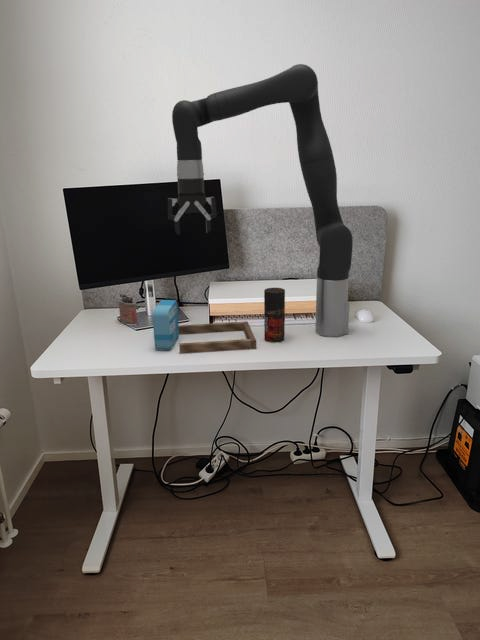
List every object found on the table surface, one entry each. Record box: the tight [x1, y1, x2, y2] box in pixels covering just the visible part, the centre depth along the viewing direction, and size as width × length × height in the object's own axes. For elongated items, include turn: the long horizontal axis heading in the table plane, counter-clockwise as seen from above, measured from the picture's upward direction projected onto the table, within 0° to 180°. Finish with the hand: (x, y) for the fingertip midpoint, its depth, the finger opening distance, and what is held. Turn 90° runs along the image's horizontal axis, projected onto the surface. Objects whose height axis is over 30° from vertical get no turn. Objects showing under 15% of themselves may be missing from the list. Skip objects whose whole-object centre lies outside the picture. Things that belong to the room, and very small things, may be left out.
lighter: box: [117, 292, 139, 326], centre depth 167 cm, size 8×3×10 cm, turn 47°
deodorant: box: [263, 287, 286, 344], centre depth 150 cm, size 6×6×15 cm
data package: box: [152, 299, 180, 351], centre depth 148 cm, size 12×4×12 cm, turn 175°
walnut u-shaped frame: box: [178, 320, 257, 355], centre depth 151 cm, size 22×17×2 cm
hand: (193, 233), depth 152 cm, fingers open, 8 cm apart
